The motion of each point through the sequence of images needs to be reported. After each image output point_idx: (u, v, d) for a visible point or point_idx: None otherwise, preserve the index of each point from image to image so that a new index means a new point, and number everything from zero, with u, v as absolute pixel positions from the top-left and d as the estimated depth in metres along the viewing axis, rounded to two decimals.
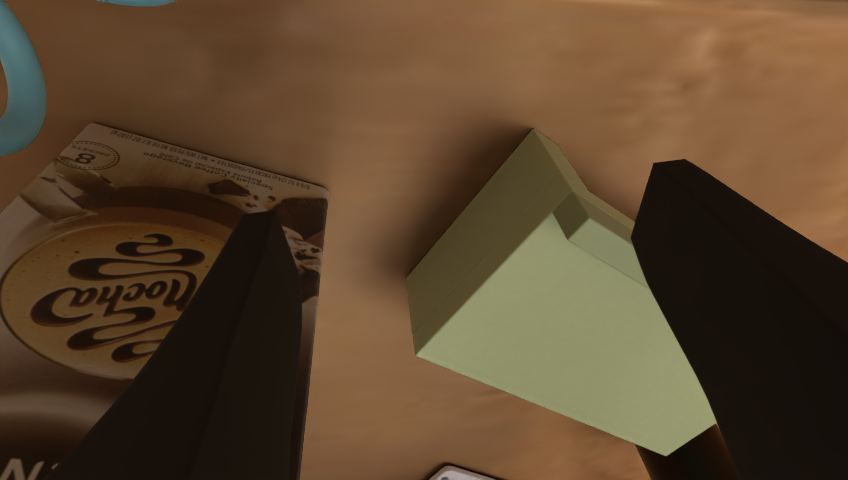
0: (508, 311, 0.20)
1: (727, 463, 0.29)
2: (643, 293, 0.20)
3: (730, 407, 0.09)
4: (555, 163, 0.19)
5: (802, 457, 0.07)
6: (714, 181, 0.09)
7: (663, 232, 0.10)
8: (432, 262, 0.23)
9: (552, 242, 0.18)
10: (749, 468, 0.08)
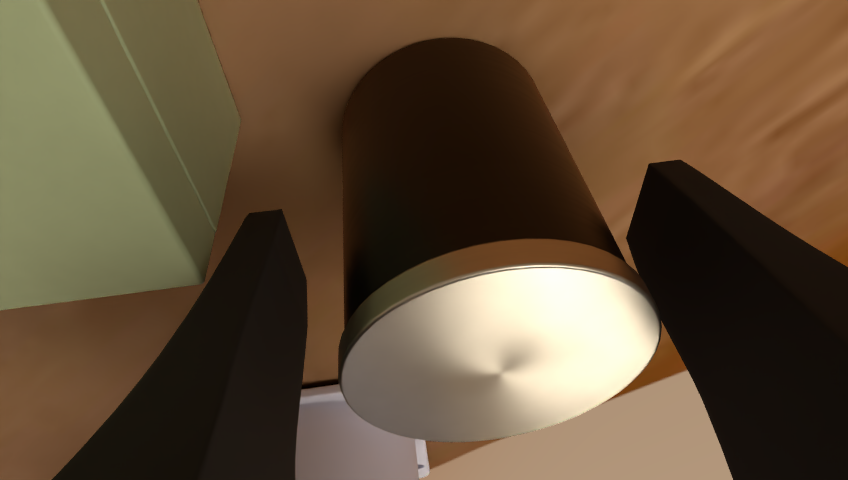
0: None
1: (428, 202, 0.08)
2: None
3: (725, 408, 0.09)
4: None
5: (796, 458, 0.07)
6: (708, 182, 0.09)
7: (658, 233, 0.10)
8: None
9: None
10: (743, 469, 0.08)
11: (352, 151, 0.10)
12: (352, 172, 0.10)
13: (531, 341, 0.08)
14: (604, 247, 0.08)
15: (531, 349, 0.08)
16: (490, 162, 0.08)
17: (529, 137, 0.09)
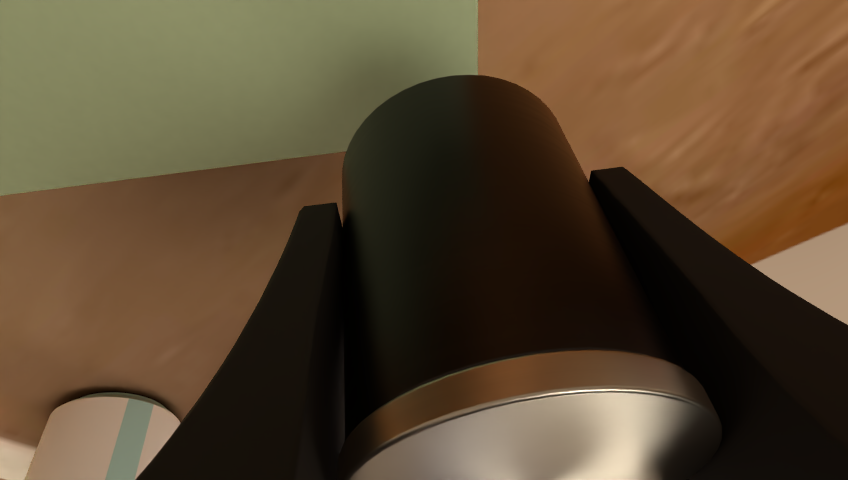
0: None
1: (446, 292, 0.06)
2: None
3: None
4: None
5: (717, 469, 0.07)
6: (646, 190, 0.09)
7: None
8: None
9: None
10: None
11: (354, 207, 0.09)
12: (354, 233, 0.09)
13: (568, 458, 0.06)
14: (657, 349, 0.06)
15: (567, 464, 0.07)
16: (519, 239, 0.07)
17: (561, 201, 0.08)
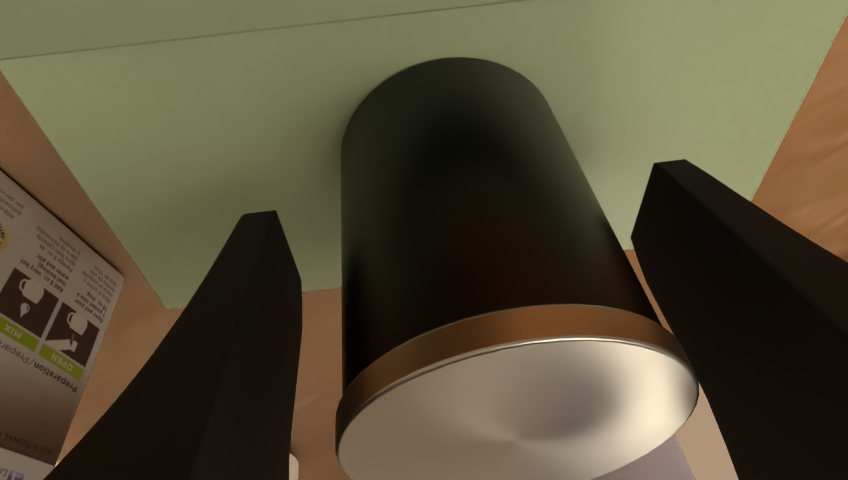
0: (173, 200, 0.12)
1: (437, 254, 0.07)
2: (321, 33, 0.10)
3: (730, 407, 0.09)
4: None
5: (802, 457, 0.07)
6: (714, 181, 0.09)
7: (663, 232, 0.10)
8: None
9: (51, 67, 0.09)
10: (749, 468, 0.08)
11: (351, 183, 0.09)
12: (351, 207, 0.09)
13: (553, 411, 0.07)
14: (637, 307, 0.07)
15: (552, 418, 0.07)
16: (507, 206, 0.07)
17: (549, 173, 0.08)
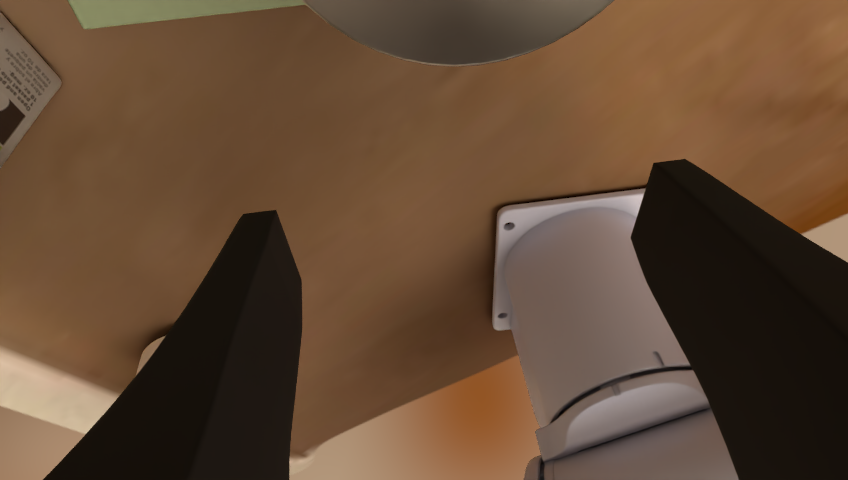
0: None
1: None
2: None
3: (730, 407, 0.09)
4: None
5: (802, 457, 0.07)
6: (714, 181, 0.09)
7: (663, 232, 0.10)
8: None
9: None
10: (749, 468, 0.08)
11: None
12: None
13: None
14: None
15: None
16: None
17: None
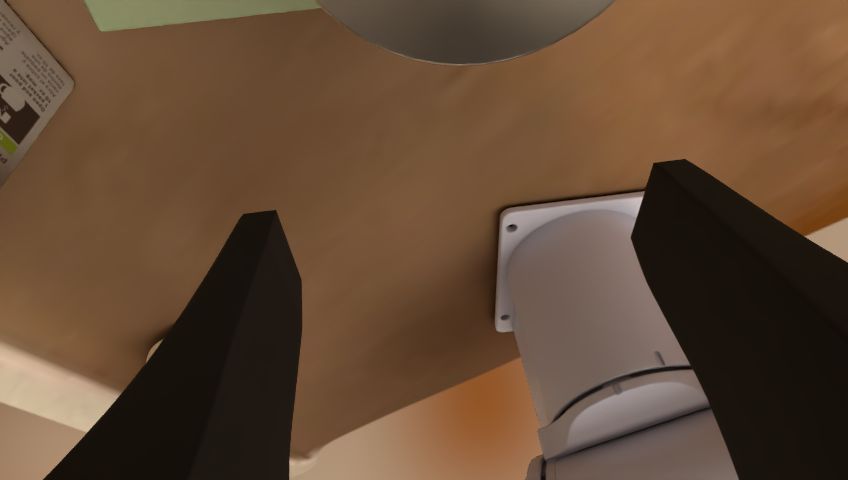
0: None
1: None
2: None
3: (730, 407, 0.09)
4: None
5: (802, 457, 0.07)
6: (714, 181, 0.09)
7: (663, 232, 0.10)
8: None
9: None
10: (749, 468, 0.08)
11: None
12: None
13: None
14: None
15: None
16: None
17: None
